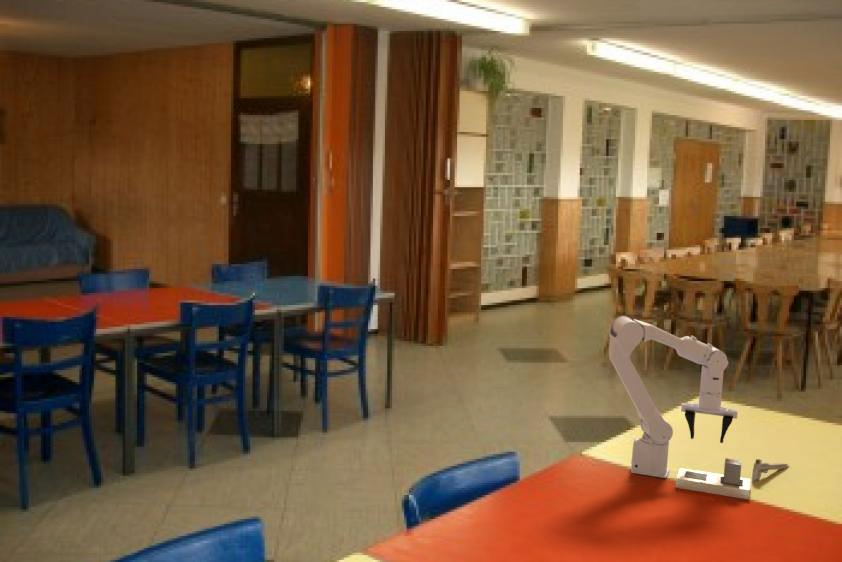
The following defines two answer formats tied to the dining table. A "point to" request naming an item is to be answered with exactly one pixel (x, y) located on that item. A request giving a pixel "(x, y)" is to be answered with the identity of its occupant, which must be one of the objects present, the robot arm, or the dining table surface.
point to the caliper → (765, 468)
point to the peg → (732, 472)
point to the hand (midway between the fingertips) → (706, 440)
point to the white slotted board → (711, 483)
